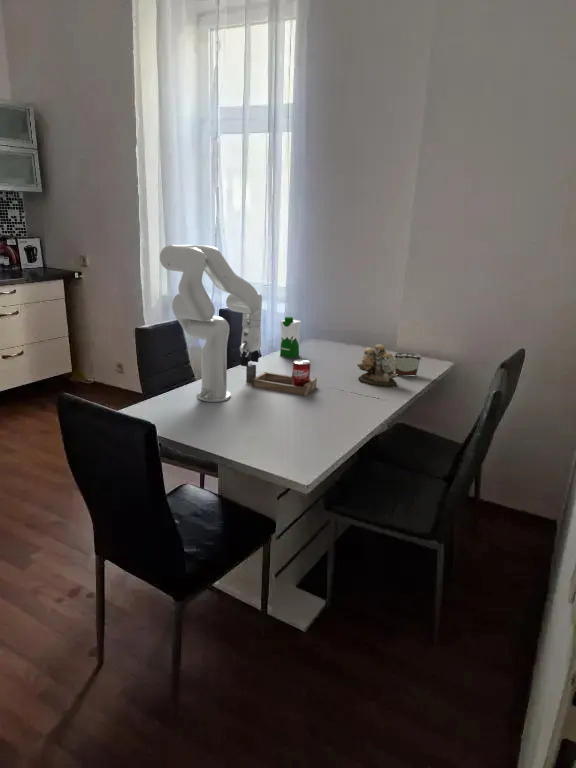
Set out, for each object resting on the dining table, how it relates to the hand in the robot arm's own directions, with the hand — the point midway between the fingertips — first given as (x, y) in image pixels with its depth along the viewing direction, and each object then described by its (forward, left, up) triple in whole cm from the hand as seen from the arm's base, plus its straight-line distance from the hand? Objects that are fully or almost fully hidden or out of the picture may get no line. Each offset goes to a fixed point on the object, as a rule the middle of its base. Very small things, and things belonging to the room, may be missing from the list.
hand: (249, 363), depth 220 cm
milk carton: (+49, +2, -9) cm, 50 cm away
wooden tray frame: (+1, -13, -8) cm, 15 cm away
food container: (+46, -57, -9) cm, 74 cm away
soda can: (+2, -23, -9) cm, 24 cm away
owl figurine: (+27, -48, -9) cm, 56 cm away
